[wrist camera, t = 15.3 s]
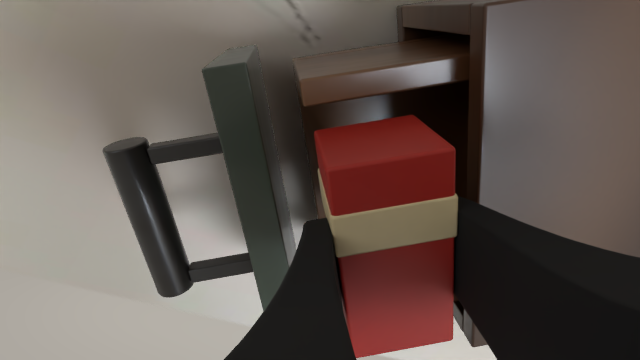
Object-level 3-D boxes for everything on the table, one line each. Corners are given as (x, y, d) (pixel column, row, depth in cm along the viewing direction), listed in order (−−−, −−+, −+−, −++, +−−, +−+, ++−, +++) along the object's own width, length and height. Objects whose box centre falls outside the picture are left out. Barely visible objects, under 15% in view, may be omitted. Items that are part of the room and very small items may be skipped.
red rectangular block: (419, 274, 14) (456, 342, 11) (335, 289, 14) (350, 362, 11) (415, 112, 11) (460, 147, 9) (311, 129, 11) (322, 170, 8)
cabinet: (407, 237, 21) (472, 348, 14) (395, 6, 16) (485, 2, 9) (645, 195, 22) (820, 283, 15) (701, -41, 17) (1000, -77, 10)
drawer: (192, 275, 20) (161, 373, 14) (121, 65, 15) (38, 94, 10) (511, 219, 20) (594, 294, 15) (528, 2, 16) (654, -2, 11)
